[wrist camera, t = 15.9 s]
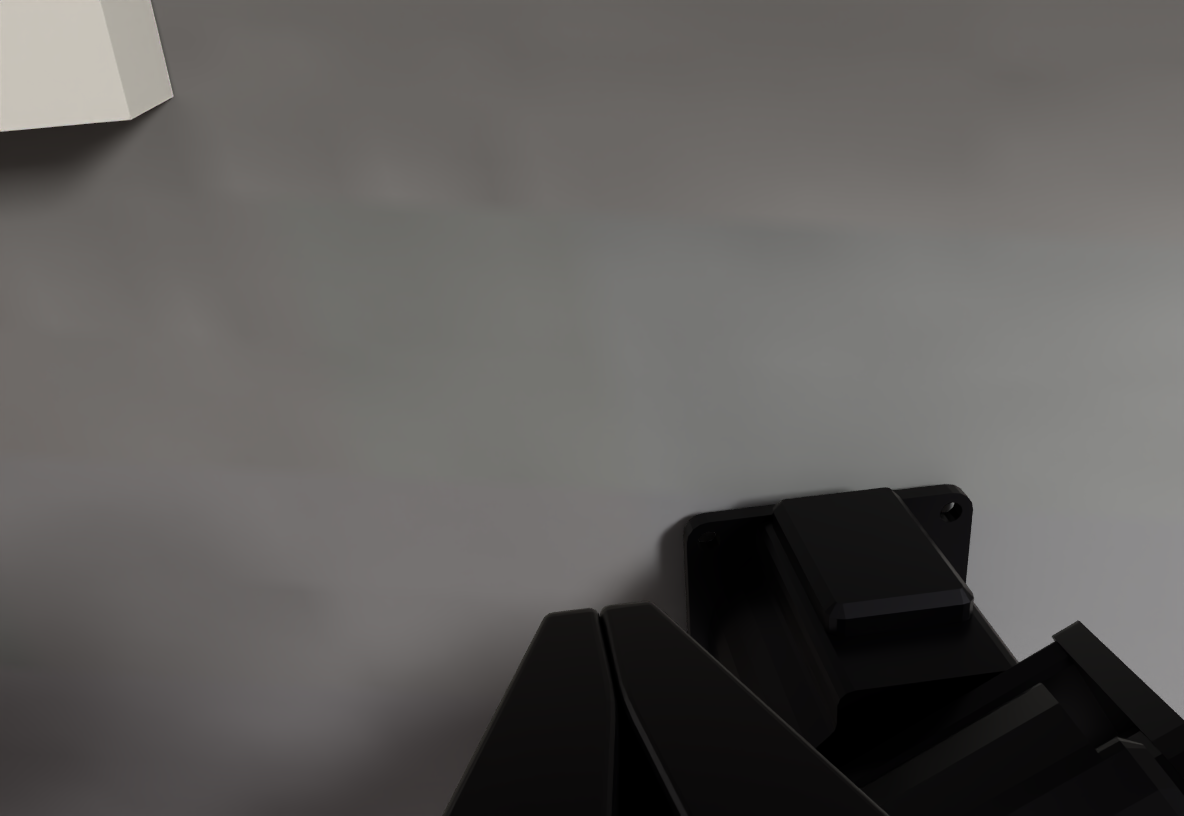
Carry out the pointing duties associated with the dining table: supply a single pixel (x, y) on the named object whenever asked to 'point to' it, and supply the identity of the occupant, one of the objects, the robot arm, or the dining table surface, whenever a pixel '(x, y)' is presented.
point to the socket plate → (78, 62)
